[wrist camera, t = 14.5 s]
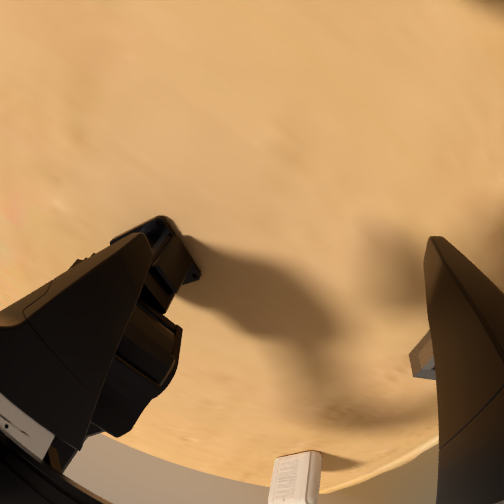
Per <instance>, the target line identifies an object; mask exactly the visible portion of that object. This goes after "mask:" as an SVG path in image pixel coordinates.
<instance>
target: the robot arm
mask: <svg viewBox="0 0 504 504" xmlns="http://www.w3.org/2000/svg"><path fill="white" fill-rule="evenodd" d="M158 221H160V222H161V224H160V223H159V222H158ZM194 273H195V274H196V275H194ZM424 276H425V287H426V301H427V313H428V320H429V326H430V333H431V340H432V347H433V355H434V364H435V374H436V385H437V399H438V420H439V463H438V485H437V498H436V504H504V293H503V292H502V291H501V290H500V289H499V288H498V287H497V286H496V285H495V284H494V283H493V282H492V281H491V280H490V279H489V278H488V277H487V276H486V275H484V274H483V273H482V272H481V271H480V270H479V269H478V268H477V267H476V266H475V265H474V264H473V263H472V262H471V261H470V260H469V259H467V258H466V257H465V256H464V255H463V254H462V253H461V252H460V251H459V250H457V249H456V248H455V247H454V246H453V245H452V244H451V243H449V242H448V241H447V240H446V239H445V238H444V237H442V236H430V237H429V239H428V242H427V247H426V252H425V257H424ZM200 277H201V271H200V270H199V268H198V267H197V265H196V264H195V262H194V261H193V259H192V257H191V256H190V254H189V253H188V251H187V250H186V248H185V247H184V246H183V244H182V243H181V241H180V240H179V238H178V237H177V236H176V234H175V233H174V231H173V230H172V228H171V227H170V225H169V224H168V222H167V221H166V219H165V218H164V217H163V216H156V217H154V218H152V219H150V220H148V221H146V222H144V223H142V224H140V225H138V226H136V227H134V228H132V229H130V230H128V231H126V232H124V233H122V234H121V235H119V236H117V237H115V238H113V239H112V240H111V241H110V246H108V247H107V248H105V249H103V250H101V251H100V252H98V253H96V254H95V253H93V254H92V255H91V257H89V258H87V257H86V258H85V259H84V260H79V259H77V260H76V262H75V263H74V264H73V265H72V266H71V267H70V268H69V269H68V271H66V272H64V273H63V274H61V275H59V276H58V277H56V278H55V279H54V280H51V281H50V282H48V283H47V284H45V285H43V286H42V287H40V288H38V289H37V290H35V291H34V292H32V293H30V294H29V295H27V296H25V297H24V298H22V299H20V300H18V301H17V302H15V303H13V304H12V305H10V306H8V307H7V308H5V309H3V310H2V311H0V504H112V503H111V502H109V501H107V500H105V499H103V498H101V497H99V496H98V495H96V494H94V493H92V492H90V491H89V490H87V489H85V488H84V487H82V486H80V485H79V484H77V483H76V482H74V481H72V480H71V479H69V478H68V477H66V476H65V475H63V472H64V470H65V469H66V468H67V466H68V465H69V463H70V462H71V460H72V459H73V457H74V456H75V454H76V453H77V451H78V450H79V451H80V450H81V448H82V446H83V443H84V441H85V440H86V438H88V437H90V436H93V435H96V434H99V433H102V432H107V433H109V434H111V435H112V436H114V437H116V438H118V437H120V436H122V435H124V434H126V433H127V432H129V431H130V430H131V429H132V428H133V426H134V424H135V423H136V421H137V419H138V418H139V416H140V415H141V413H142V412H143V410H144V409H145V407H146V406H147V405H148V403H149V402H150V401H151V400H152V399H153V398H155V397H157V396H158V395H160V394H161V393H162V392H163V391H164V390H165V389H166V387H167V386H168V385H169V383H170V382H171V380H172V378H173V377H174V375H175V372H176V370H177V366H178V360H179V353H180V346H181V338H182V331H183V329H182V328H181V327H180V326H178V325H175V324H174V323H173V322H171V321H170V320H169V319H168V318H166V317H165V316H164V315H163V314H165V313H166V312H167V310H168V308H169V306H170V304H171V302H172V300H173V298H174V296H175V294H177V293H178V291H179V289H180V287H181V285H184V284H187V283H190V282H193V281H197V280H199V279H200Z"/></svg>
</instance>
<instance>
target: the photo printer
mask: <svg viewBox="0 0 504 504" xmlns="http://www.w3.org/2000/svg"><path fill="white" fill-rule="evenodd" d="M321 465H322V456H321V454H320V453H319V452H316V451H308V452H302V453H298V454H293V455H288V456H283V457H279V458H276V459H275V461H274V467H273V474H272V480H271V486H270V492H269V498H268V504H317V502H318V495H319V487H320V477H321Z"/></svg>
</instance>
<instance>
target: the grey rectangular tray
mask: <svg viewBox="0 0 504 504" xmlns="http://www.w3.org/2000/svg"><path fill="white" fill-rule="evenodd" d="M409 358H410V363H411V368H412V373H413V377H417V378H424V379H432V380H436V374H435V364H434V355H433V347H432V340H431V333H430V330H429V331H428V333H427V334H426V335H425V336H424V337H423V339H422V340H421V341H420V342H419V343H418V344H417V346H416V347H415V348H414V349H413V350H412V351H411V352H410V354H409Z"/></svg>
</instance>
